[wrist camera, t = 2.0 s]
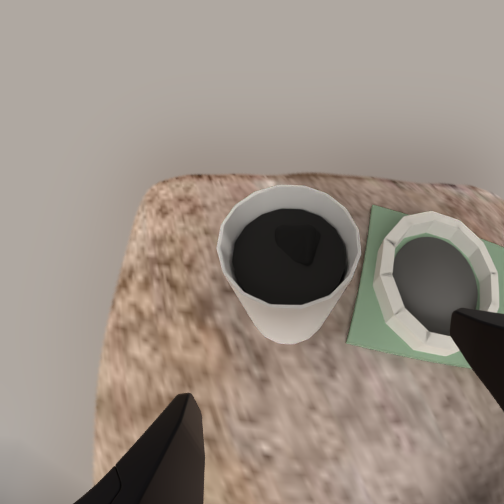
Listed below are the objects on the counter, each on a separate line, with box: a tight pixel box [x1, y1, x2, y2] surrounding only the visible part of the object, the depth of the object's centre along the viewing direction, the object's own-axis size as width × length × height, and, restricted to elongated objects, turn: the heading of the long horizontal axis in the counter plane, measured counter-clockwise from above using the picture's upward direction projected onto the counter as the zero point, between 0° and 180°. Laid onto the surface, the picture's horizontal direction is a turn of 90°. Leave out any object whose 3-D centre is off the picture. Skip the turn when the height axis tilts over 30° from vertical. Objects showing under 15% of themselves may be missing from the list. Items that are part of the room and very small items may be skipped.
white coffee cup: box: [217, 185, 361, 344], centre depth 17 cm, size 7×7×10 cm
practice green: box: [346, 205, 504, 369], centre depth 18 cm, size 21×13×3 cm, turn 70°
